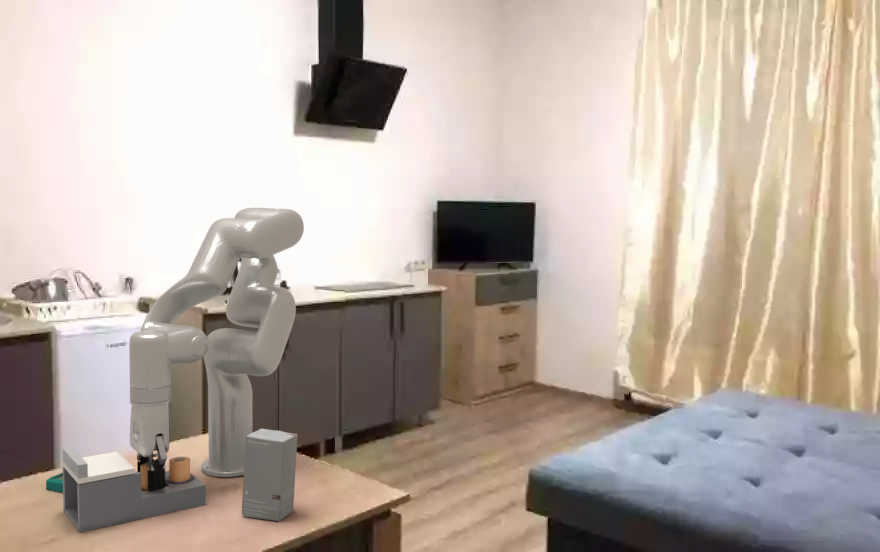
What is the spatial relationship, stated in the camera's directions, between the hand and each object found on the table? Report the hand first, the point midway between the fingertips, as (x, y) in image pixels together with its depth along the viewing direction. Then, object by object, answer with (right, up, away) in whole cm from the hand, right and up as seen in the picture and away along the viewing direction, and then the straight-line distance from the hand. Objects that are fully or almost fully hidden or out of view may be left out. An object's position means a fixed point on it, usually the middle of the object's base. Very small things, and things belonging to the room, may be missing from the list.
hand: (151, 483), depth 159 cm
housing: (-3, -4, -2) cm, 6 cm away
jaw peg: (0, -4, 0) cm, 4 cm away
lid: (-8, +4, -6) cm, 11 cm away
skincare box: (+24, -5, -2) cm, 25 cm away
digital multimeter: (-19, -3, +13) cm, 23 cm away
